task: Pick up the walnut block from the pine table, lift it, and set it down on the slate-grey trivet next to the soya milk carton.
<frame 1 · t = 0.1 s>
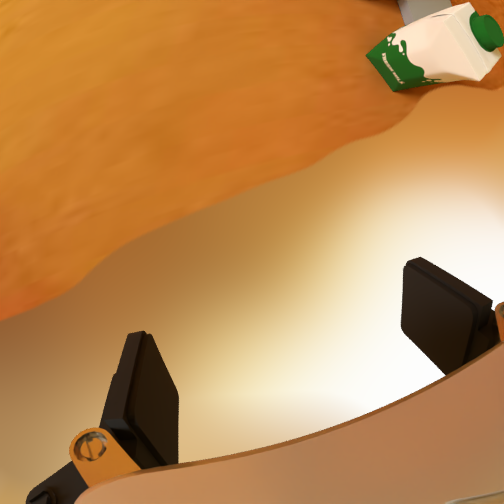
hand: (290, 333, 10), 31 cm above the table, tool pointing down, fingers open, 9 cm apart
trivet: (421, 2, 33), on the table
soya milk: (391, 63, 37), on the table
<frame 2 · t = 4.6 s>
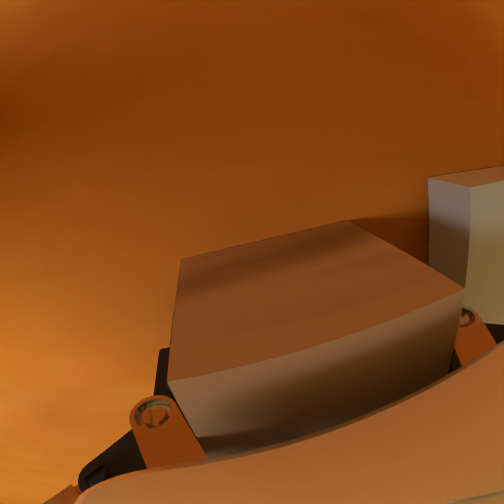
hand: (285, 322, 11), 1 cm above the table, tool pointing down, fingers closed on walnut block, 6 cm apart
walnut block: (280, 313, 12), on the table, touching gripper
trivet: (497, 271, 13), on the table
when the fingers open (4 cm above the table, at t = 9.2 s): walnut block drops 1 cm, resting on trivet.
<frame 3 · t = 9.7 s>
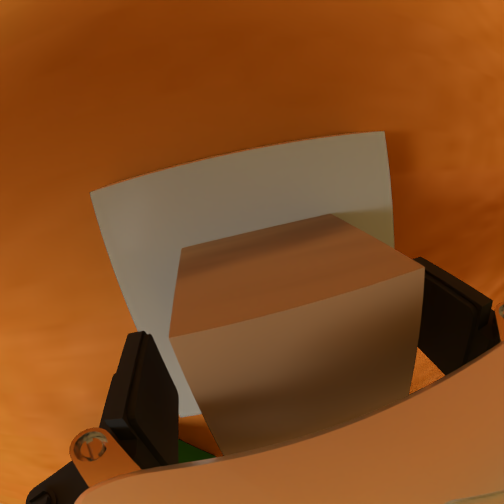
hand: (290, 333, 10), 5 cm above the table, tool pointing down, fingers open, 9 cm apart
walnut block: (271, 297, 13), point 2 cm above the table, touching trivet
trivet: (261, 274, 15), on the table
soya milk: (151, 454, 19), on the table
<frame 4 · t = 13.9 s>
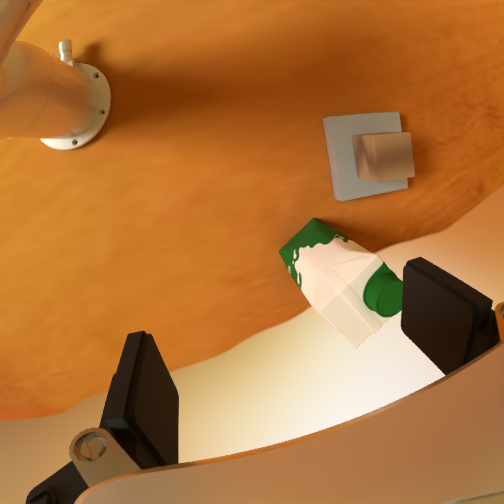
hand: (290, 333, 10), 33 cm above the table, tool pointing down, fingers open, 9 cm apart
walnut block: (372, 154, 40), point 2 cm above the table, touching trivet
trivet: (364, 153, 43), on the table
soya milk: (309, 249, 46), on the table
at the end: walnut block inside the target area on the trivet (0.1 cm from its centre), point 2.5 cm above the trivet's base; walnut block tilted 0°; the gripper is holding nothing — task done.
